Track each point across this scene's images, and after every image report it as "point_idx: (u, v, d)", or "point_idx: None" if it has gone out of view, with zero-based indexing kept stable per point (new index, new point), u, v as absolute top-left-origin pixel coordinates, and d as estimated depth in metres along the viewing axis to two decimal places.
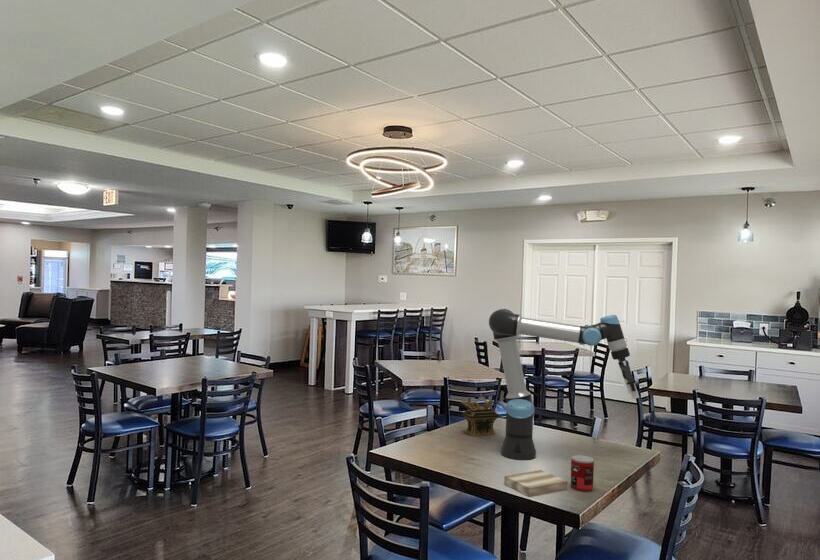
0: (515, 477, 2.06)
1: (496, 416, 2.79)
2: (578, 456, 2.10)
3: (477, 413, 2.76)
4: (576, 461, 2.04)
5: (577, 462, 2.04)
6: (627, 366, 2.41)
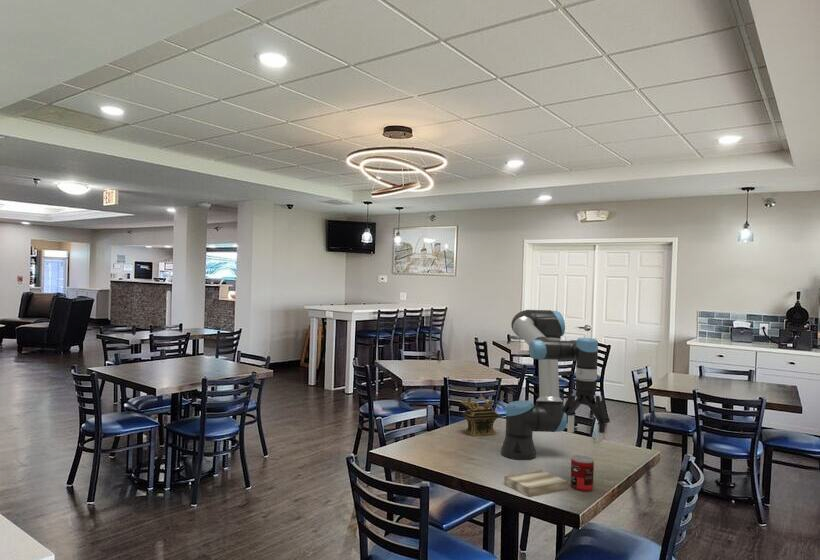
0: (515, 477, 2.06)
1: (496, 416, 2.79)
2: (578, 456, 2.10)
3: (477, 413, 2.76)
4: (576, 461, 2.04)
5: (577, 462, 2.04)
6: None
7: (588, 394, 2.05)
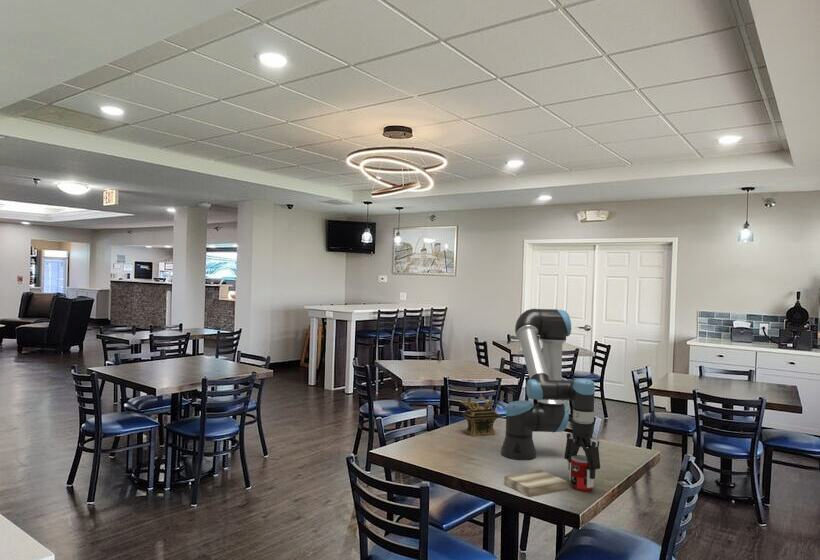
0: (515, 477, 2.06)
1: (496, 416, 2.79)
2: (578, 456, 2.10)
3: (477, 413, 2.76)
4: (576, 461, 2.04)
5: (577, 462, 2.04)
6: None
7: (585, 436, 2.04)
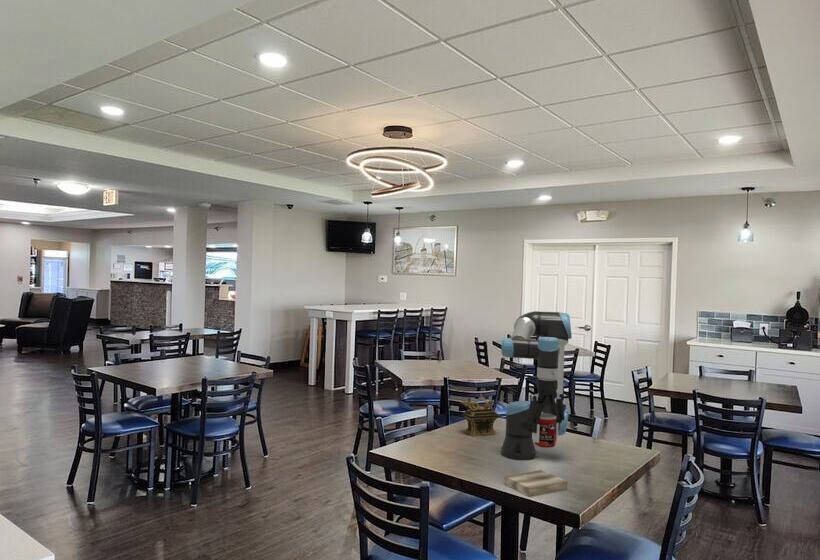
0: (515, 477, 2.06)
1: (496, 416, 2.79)
2: None
3: (477, 413, 2.76)
4: (553, 419, 2.04)
5: (554, 419, 2.04)
6: (533, 402, 2.03)
7: (554, 392, 2.07)
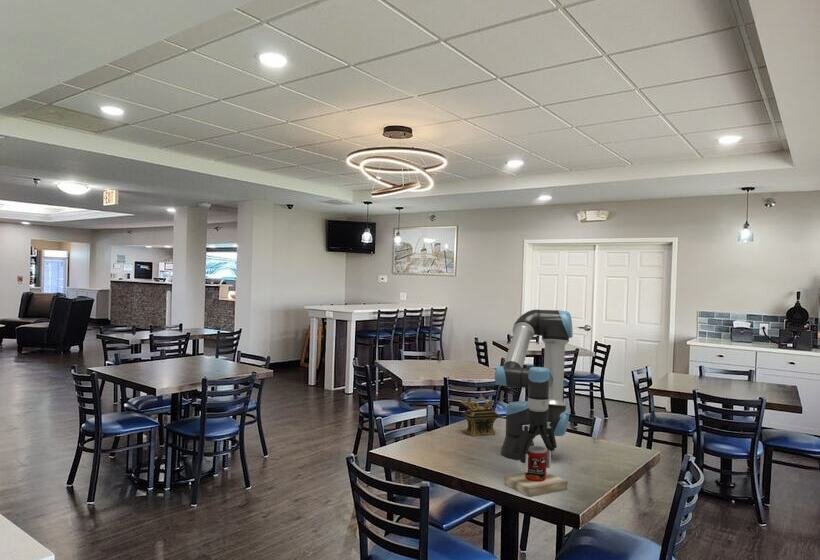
0: (515, 477, 2.06)
1: (496, 416, 2.79)
2: (528, 449, 2.06)
3: (477, 413, 2.76)
4: (544, 452, 2.04)
5: (545, 452, 2.04)
6: (524, 432, 2.02)
7: (544, 423, 2.07)
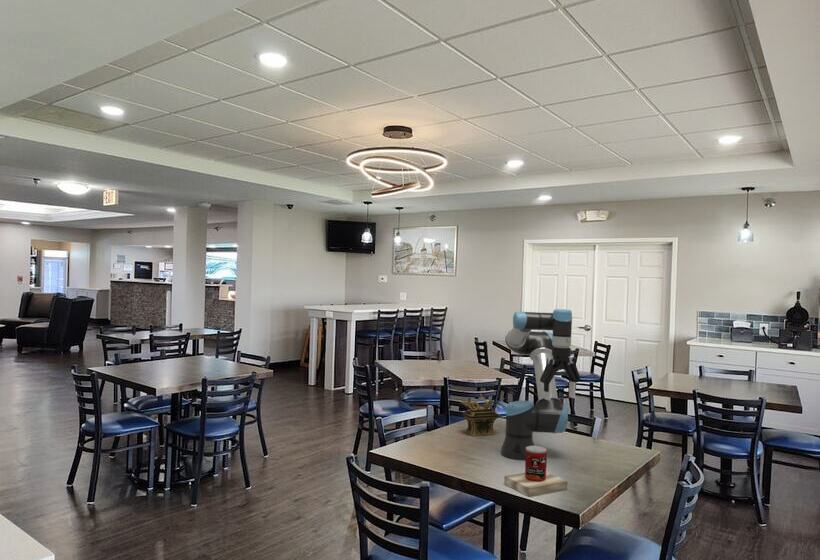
0: (515, 477, 2.06)
1: (496, 416, 2.79)
2: (528, 449, 2.06)
3: (477, 413, 2.76)
4: (544, 452, 2.04)
5: (545, 452, 2.04)
6: (549, 365, 2.25)
7: (567, 359, 2.29)
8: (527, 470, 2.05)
